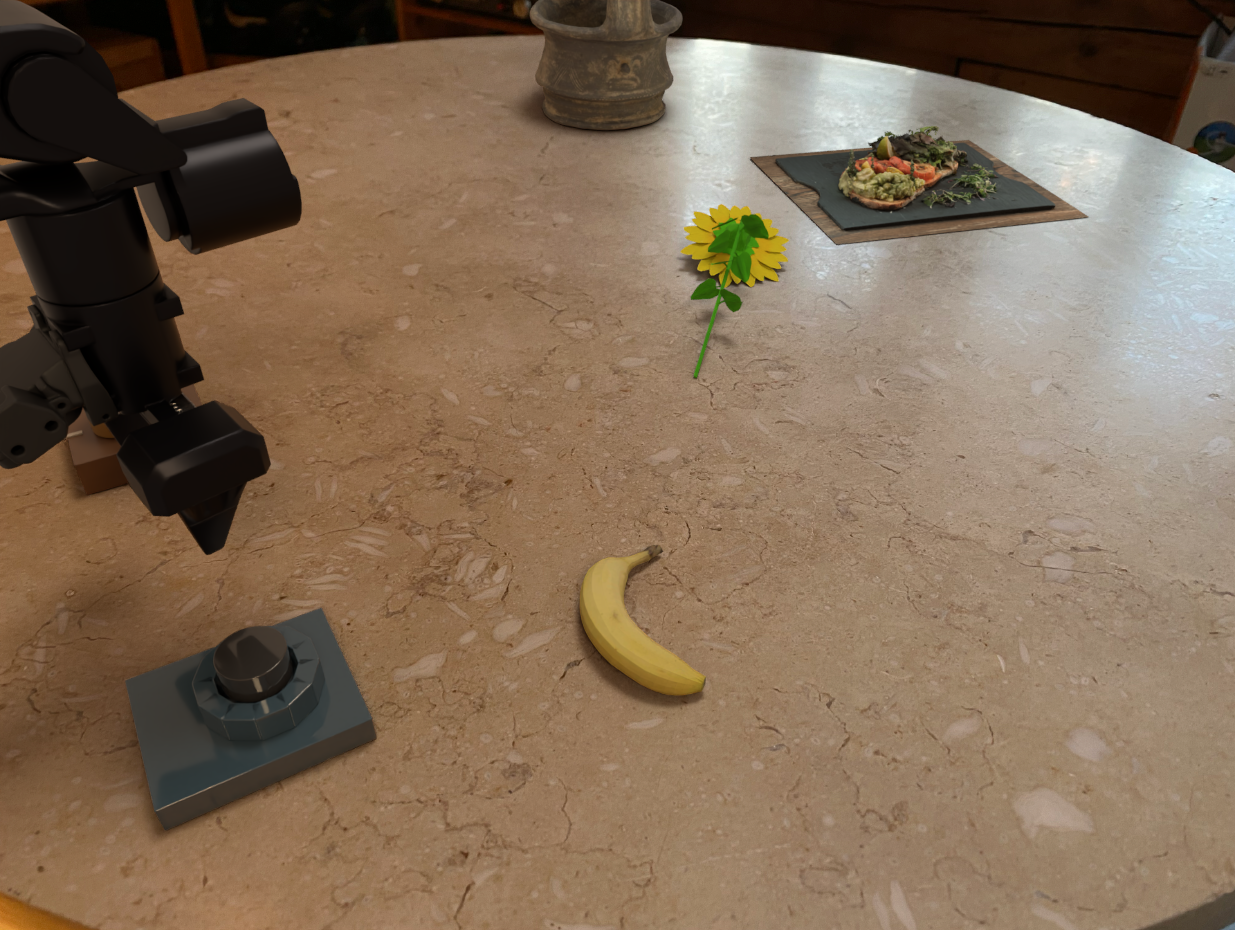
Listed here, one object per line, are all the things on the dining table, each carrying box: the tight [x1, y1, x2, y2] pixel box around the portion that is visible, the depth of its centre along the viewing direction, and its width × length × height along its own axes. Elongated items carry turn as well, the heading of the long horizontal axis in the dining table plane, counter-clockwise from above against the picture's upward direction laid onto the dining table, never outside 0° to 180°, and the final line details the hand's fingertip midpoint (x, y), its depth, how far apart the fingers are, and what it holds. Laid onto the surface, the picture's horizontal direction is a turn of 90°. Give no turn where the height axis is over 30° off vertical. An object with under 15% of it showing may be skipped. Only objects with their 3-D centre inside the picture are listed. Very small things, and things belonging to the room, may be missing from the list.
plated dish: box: [749, 125, 1089, 245], centre depth 121 cm, size 35×28×7 cm
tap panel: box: [64, 384, 203, 496], centre depth 76 cm, size 10×10×3 cm
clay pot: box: [529, 0, 683, 131], centre depth 134 cm, size 22×23×30 cm
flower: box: [679, 203, 790, 379], centre depth 96 cm, size 12×9×30 cm
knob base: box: [124, 607, 378, 831], centre depth 56 cm, size 12×10×4 cm
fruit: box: [579, 544, 707, 696], centre depth 62 cm, size 7×13×3 cm, turn 14°
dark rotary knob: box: [213, 625, 293, 703], centre depth 54 cm, size 4×4×2 cm
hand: (181, 510), depth 57 cm, fingers open, 9 cm apart
